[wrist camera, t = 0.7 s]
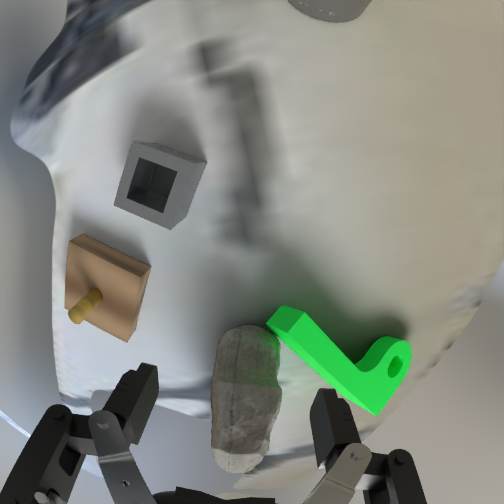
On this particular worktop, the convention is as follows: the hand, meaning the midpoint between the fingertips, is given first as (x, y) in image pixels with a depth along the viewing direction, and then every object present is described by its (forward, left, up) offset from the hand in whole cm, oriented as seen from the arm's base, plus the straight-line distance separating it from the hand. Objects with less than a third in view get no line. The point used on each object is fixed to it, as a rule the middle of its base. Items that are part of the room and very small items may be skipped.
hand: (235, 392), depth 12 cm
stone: (+15, +6, -18) cm, 24 cm away
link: (-4, -11, -18) cm, 21 cm away
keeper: (+10, -15, -18) cm, 26 cm away
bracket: (+4, +15, -18) cm, 24 cm away
